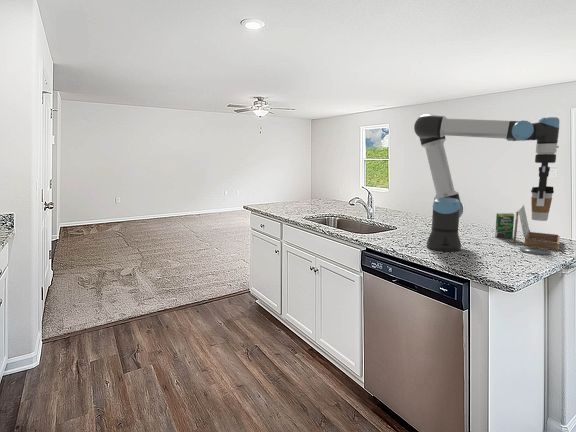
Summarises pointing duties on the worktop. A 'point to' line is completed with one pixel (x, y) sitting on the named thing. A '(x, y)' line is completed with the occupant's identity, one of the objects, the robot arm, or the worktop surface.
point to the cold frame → (535, 234)
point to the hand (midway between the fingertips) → (540, 204)
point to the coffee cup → (541, 211)
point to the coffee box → (504, 225)
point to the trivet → (535, 250)
